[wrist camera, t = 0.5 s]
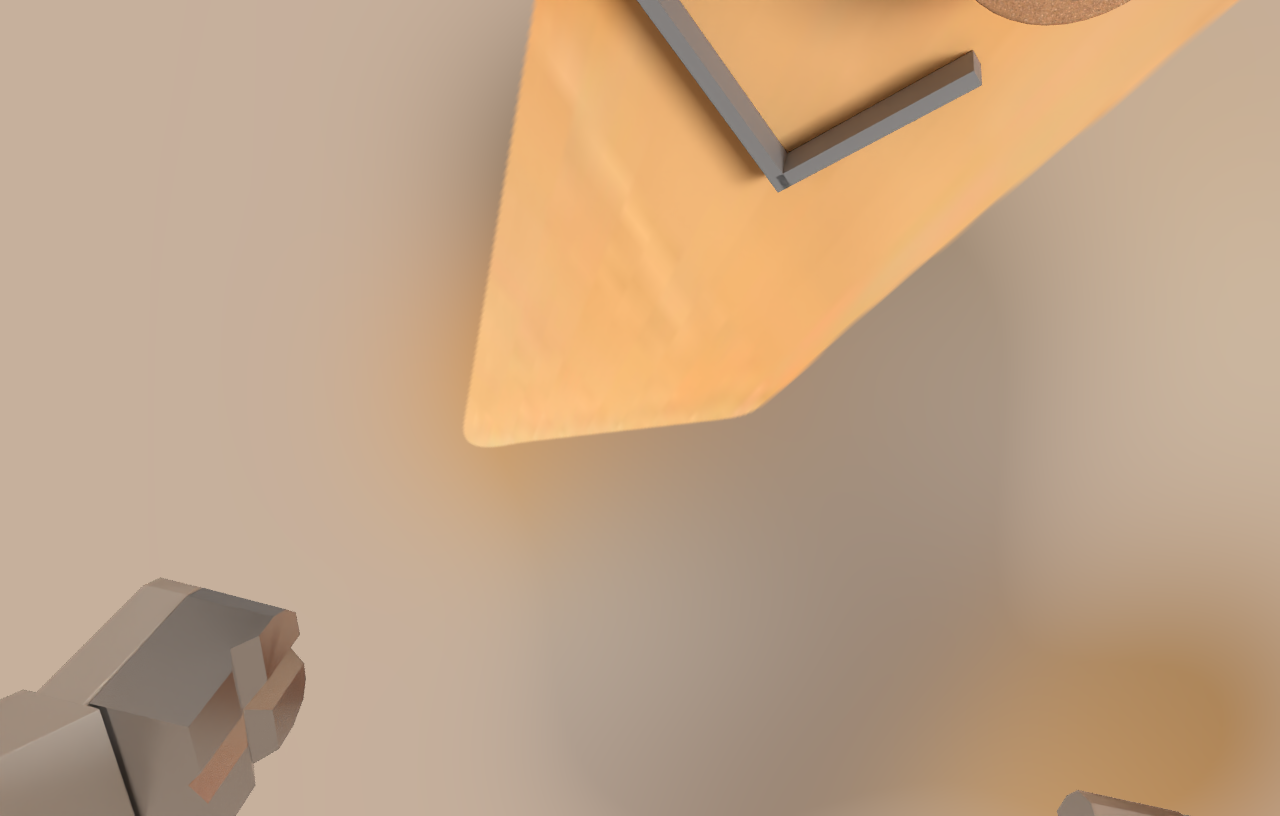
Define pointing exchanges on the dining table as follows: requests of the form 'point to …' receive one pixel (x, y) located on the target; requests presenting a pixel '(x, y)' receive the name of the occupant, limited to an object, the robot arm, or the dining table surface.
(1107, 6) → the lidded jar
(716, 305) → the dining table surface
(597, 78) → the dining table surface
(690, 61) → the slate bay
